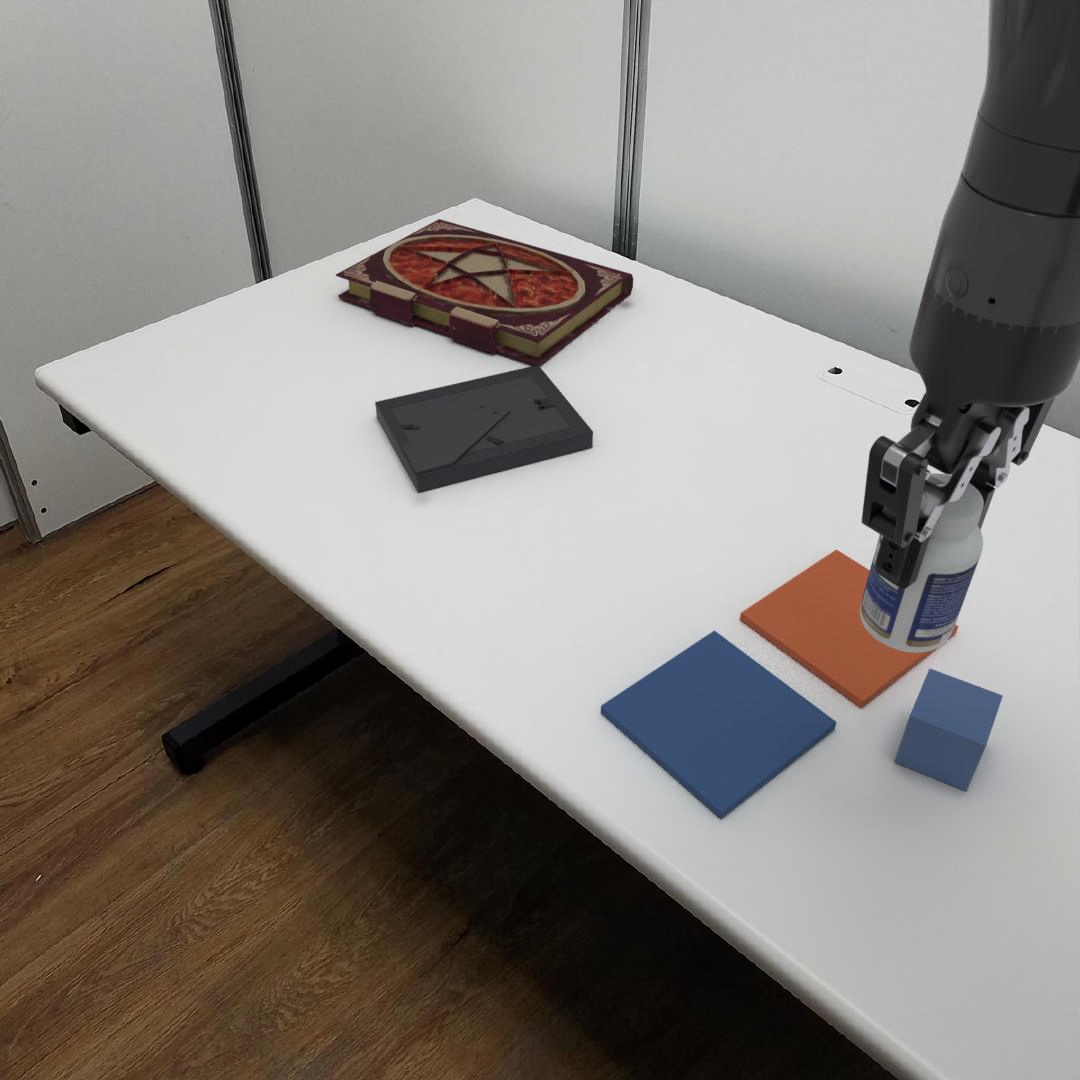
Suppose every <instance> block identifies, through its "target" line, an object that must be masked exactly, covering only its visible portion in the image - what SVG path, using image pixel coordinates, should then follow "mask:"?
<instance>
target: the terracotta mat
mask: <svg viewBox="0 0 1080 1080" xmlns="http://www.w3.org/2000/svg"><path fill="white" fill-rule="evenodd" d="M869 571H870V569H869V568H867V567H865V566H863V565H862V564H861V563H859V562H857V561H856V560H854V559H852V558H851V557H849V556H848V555H846V554H845V553H843V552H842V551H840V550H839V549H834V550H833V551H832V552H830V553H829V554H826V555H825V556H824V557H822V558H821V559H820V560H818V561H817V562H815V563H814V564H812V565H810V566H809V567H807V568H806V569H804V570H803V571H802V572H800V573H798V574H797V575H796V576H794V577H793V578H791V579H789V580H788V581H786V582H785V583H784V584H782V585H780V586H779V587H777V588H776V589H774V590H773V591H771V592H770V593H768V594H767V595H766V596H764V597H762V598H761V599H760V600H759V599H758V601H756V602H755V603H753V604H752V605H750V606H749V607H747V608H745V609H744V610H743V611H741V612H740V616H739V620H740V621H741V622H742V623H744V624H745V625H747V626H748V627H749V628H750V629H752V630H753V631H755V632H756V633H758V634H759V635H760V636H761V637H763V638H764V639H765V640H767V641H768V642H770V643H771V644H773V645H774V646H775V647H776V648H778V649H779V650H781V651H782V652H784V653H785V654H787V656H788V657H790V658H792V660H794V661H796V663H799V665H801V666H803V667H804V668H806V669H807V670H808V671H810V672H811V673H812V674H814V675H815V676H816V677H818V678H819V679H820V680H822V681H823V682H824V683H826V684H828V685H829V686H830V687H832V689H834V690H836V692H839V693H840V694H841V695H843V696H844V697H845V698H846V699H848V700H849V701H850V702H852V703H854V705H856V706H857V707H859V708H860V709H862V708H863V707H865V706H866V705H867V704H869V703H870V702H871V701H872V700H873V699H874V698H876V697H877V696H879V695H880V694H881V693H882V692H884V691H885V690H886V689H887V688H889V687H890V686H891V685H892V684H894V683H895V682H897V680H899V679H900V678H901V677H903V676H904V675H905V674H906V673H908V672H909V671H910V670H911V669H913V668H914V667H916V665H918V664H920V662H922V661H923V660H924V659H925V658H926V657H928V656H929V655H930V654H932V653H933V652H934V651H936V649H934V650H932V651H928V652H918V653H913V652H905V651H900V650H897V649H894V648H891V647H889V646H887V645H885V644H883V643H881V642H880V641H878V640H876V639H875V638H874V637H873V636H872V635H871V634H870V633H869V632H868V631H867V630H866V628H865V627H864V625H863V623H862V620H861V616H860V607H861V603H862V598H863V594H864V590H865V586H866V583H867V579H868V575H869ZM958 629H959V626H958V625H957V623H956V624H955V627H954V629H953V631H952V634H951V636H950V637H949V639H951V638H952V637H953V636H954V635H955V634H957V632H958Z"/></svg>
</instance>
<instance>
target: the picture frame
mask: <svg viewBox="0 0 1080 1080" xmlns="http://www.w3.org/2000/svg"><path fill="white" fill-rule="evenodd" d="M374 405H375V406H374V407H375V412H376V413H375V414H376V419H377V421H378V422H379V424H380V426H381V428H382V430H383V432H384V433H385V435H386V437H387V439H388V440H389V443H390V444H391V446H392V448H393V450H394V452H395V453H396V455H397V457H398V459H399V461H400V463H401V464H402V467H403V468H404V470H405V472H406V474H407V475H408V477H409V479H410V481H411V482H412V485H413V486H414V487H415V489H416V492H417V493H421V492H426V491H429V490H434V489H437V488H442V487H445V486H448V485H449V486H450V485H453V484H457V483H461V482H465V481H468V480H472V479H475V478H480V477H484V476H488V475H490V474H495V473H498V472H503V471H506V470H511V469H514V468H518V467H522V466H525V465H529V464H533V463H538V462H541V461H545V460H549V459H554V458H556V457H561V456H564V455H567V454H572V453H575V452H580V451H584V450H587V449H590V448H593V445H594V444H593V443H594V431H593V429H592V428H591V427H590V426H589V424H588V423H587V422H586V421H585V420H584V419H583V417H582V416H581V415H580V414H579V412H578V411H577V410H576V408H575V407H573V405H572V404H571V402H569V400H568V398H566V397H565V395H564V394H563V393H562V392H561V390H560V389H559V388H558V387H557V385H556V384H555V383H554V382H553V381H552V379H551V378H550V377H549V376H548V375H547V373H546V372H545V370H543V369H542V367H541V366H540V365H531V366H527V367H522V368H518V369H514V370H509V371H505V372H500V373H497V374H491V375H488V376H482V377H479V378H473V379H470V380H465V381H461V382H457V383H453V384H448V385H443V386H439V387H435V388H430V389H426V390H422V391H421V390H420V391H417V392H412V393H409V394H404V395H400V396H395V397H391V398H387V399H382V400H378V401H374Z"/></svg>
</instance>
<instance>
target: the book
mask: <svg viewBox="0 0 1080 1080" xmlns="http://www.w3.org/2000/svg"><path fill="white" fill-rule="evenodd" d="M335 276H336V277H338V278H340V279H343V280H346V281H347V282H348V289H347V290H345V291H342V293H339V294H338V299H341V300H344V301H347V302H350V303H352V304H356V305H358V306H360V307H361V306H362V307H364V308H368V309H370V310H371V311H372V313H374V314H377V315H378V316H382V317H385V318H389V319H391V320H394V321H397V322H400V323H403V324H406V325H408V326H412V327H415V326H416V325H417V326H420V327H423V328H425V329H429V330H432V331H434V332H437V333H441V334H444V335H445V336H450V340H453V341H455V342H458V343H461V344H464V345H466V346H470V347H473V348H476V349H477V350H481V351H483V352H488V353H490V354H493V355H496V354H497V353H499V354H501V355H505V356H507V357H511V358H513V359H516V360H519V361H523V362H525V363H529V364H531V365H533V366H535V365H539V366H540V365H542V364H543V363H544V362H546V361H547V360H548V359H550V358H551V357H552V356H553V355H555V354H556V353H557V352H558V351H560V350H561V349H562V348H564V347H565V346H567V344H569V343H570V342H571V341H573V340H574V339H576V337H578V336H579V335H580V334H582V333H583V332H584V331H586V330H587V329H588V328H589V327H591V326H592V325H593V324H595V323H596V322H597V321H599V319H602V317H604V316H605V315H606V314H607V313H608V312H610V311H612V310H613V309H614V308H615V307H616V306H618V305H619V304H621V302H623V301H624V300H625V299H627V298H628V297H629V296H630V295H631V294H632V291H633V289H634V276H633V274H632V273H630V272H626V271H622V270H620V269H615V268H612V267H608V266H605V265H602V264H598V263H595V262H592V261H588V260H584V259H582V258H578V257H574V256H570V255H567V254H563V253H559V252H556V251H553V250H549V249H545V248H542V247H539V246H535V245H532V244H529V243H524V242H521V241H517V240H514V239H510V238H507V237H503V236H500V235H497V234H493V233H490V232H486V231H482V230H479V229H476V228H474V227H473V228H472V227H469V226H465V225H461V224H458V223H455V222H452V221H448V220H445V219H441V218H438V219H436V220H435V221H432V222H431V223H429V224H427V225H425V226H423V227H422V228H419V229H417V230H416V231H414V232H412V233H410V234H408V235H406V236H405V237H402V238H401V239H399V240H396V241H395V242H393V243H392V244H389V245H388V246H386V247H384V248H382V249H381V250H378V251H377V252H375V253H373V254H371V255H369V256H367V257H366V258H364V259H362V260H360V261H358V262H356V263H354V264H353V265H350V266H348V267H347V268H345V269H343V270H341V271H339V272H338V273H335Z"/></svg>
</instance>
